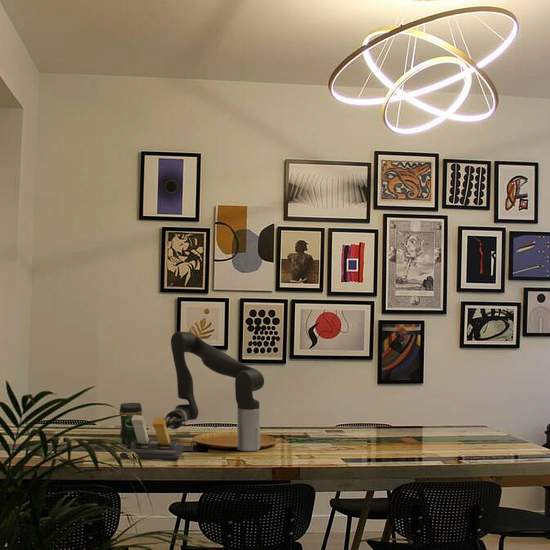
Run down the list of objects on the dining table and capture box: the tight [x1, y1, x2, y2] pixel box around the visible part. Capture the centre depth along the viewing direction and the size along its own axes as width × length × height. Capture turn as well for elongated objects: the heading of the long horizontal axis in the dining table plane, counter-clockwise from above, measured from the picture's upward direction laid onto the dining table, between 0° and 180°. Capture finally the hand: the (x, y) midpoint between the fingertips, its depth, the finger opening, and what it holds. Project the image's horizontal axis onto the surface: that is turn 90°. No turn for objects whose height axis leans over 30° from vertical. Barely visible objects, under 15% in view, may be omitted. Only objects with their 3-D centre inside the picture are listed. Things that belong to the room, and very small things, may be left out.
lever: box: [131, 415, 151, 446], centre depth 311 cm, size 4×3×15 cm
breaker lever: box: [152, 418, 172, 447], centre depth 309 cm, size 4×3×15 cm
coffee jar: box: [118, 402, 143, 447], centre depth 329 cm, size 10×8×19 cm
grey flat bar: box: [119, 449, 180, 461], centre depth 306 cm, size 24×2×4 cm, turn 81°
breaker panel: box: [129, 440, 185, 457], centre depth 314 cm, size 20×12×5 cm, turn 81°
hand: (165, 425), depth 313 cm, fingers closed
